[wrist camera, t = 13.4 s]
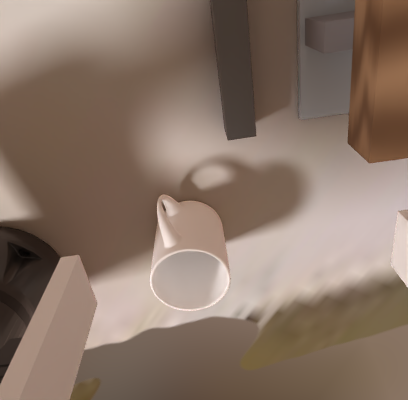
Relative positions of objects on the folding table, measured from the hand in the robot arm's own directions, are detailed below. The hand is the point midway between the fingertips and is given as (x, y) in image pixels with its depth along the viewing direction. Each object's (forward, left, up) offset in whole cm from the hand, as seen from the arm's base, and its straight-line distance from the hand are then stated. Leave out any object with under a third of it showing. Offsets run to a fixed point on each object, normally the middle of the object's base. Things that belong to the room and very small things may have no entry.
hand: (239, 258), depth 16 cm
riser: (+3, +5, -29) cm, 29 cm away
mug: (-5, -15, -29) cm, 33 cm away
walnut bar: (+15, +5, -22) cm, 27 cm away
